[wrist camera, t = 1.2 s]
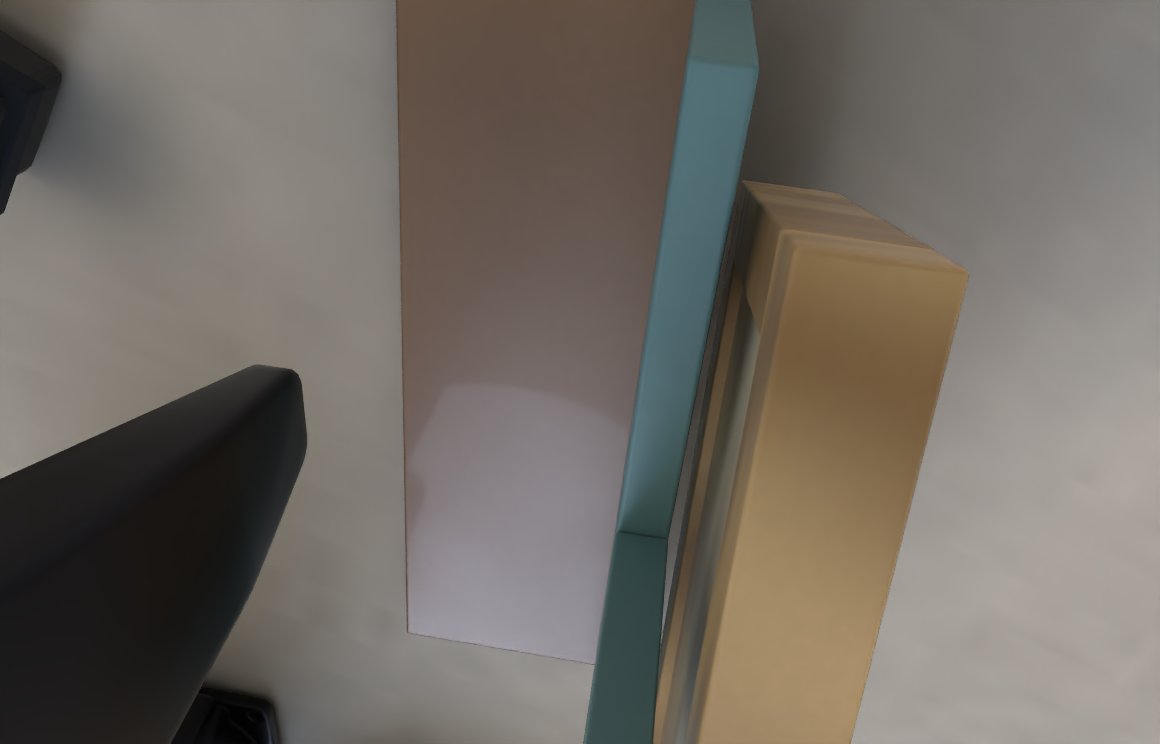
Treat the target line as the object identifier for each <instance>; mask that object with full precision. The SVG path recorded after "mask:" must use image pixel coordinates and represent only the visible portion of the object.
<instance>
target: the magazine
mask: <svg viewBox="0 0 1160 744" xmlns="http://www.w3.org/2000/svg"><path fill="white" fill-rule="evenodd" d="M60 83H61V73H60V72H59V71H58V70H57V69H56V67H55V66H53V65H52V64H50V63H49V62H47V61H46V60H44V59H43V58H41V57H40V56H38V55H37V54H35V53H33V52H32V51H30V50H29V49H27V48H26V47H24V46H23V45H21V44H20V43H18V42H17V41H15V40H13V39H12V38H10V37H9V36H7V35H6V34H4V33H3V32H1V31H0V215H1V214H2V213H4V211H5V208H6V205H7V202H8V199H9V196H10V193H11V190H12V187H13V184H14V181H15V178H16V176H17V175H18V174H20V173H22V172H24V171H25V170H27V169H28V168H29V167H30V166H32V163H33V161H34V158H35V155H36V152H37V149H38V146H39V143H40V140H41V138H42V135H43V132H44V129H45V126H46V123H47V120H48V117H49V114H50V112H51V109H52V106H53V103H54V100H55V97H56V94H57V91H58V89H59V86H60Z"/></svg>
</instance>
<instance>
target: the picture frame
mask: <svg viewBox="0 0 1160 744" xmlns="http://www.w3.org/2000/svg"><path fill="white" fill-rule="evenodd" d="M968 278H969V275H968V270H966V269H964V268H963V267H961V266H959V265H958V264H956V263H954V262H953V261H951V260H949V259H947V258H946V257H944V256H942V255H941V254H939V253H937V252H935V251H934V249H932V248H930V247H929V246H927V245H925V244H924V243H922V242H920V241H918V240H917V239H915V238H913V237H911V236H910V235H908V234H906V233H905V232H903V231H901V230H899V229H898V228H896V227H894V226H893V225H891V224H889V223H887V222H886V221H884V220H882V219H880V218H879V217H877V216H875V215H874V214H872V213H870V212H868V211H867V210H865V209H863V208H861V207H860V206H858V205H856V204H855V203H853V202H851V201H850V200H848V199H846V198H845V197H843V196H841V195H839V194H838V193H834V192H827V191H819V190H812V189H805V188H797V187H790V186H782V185H775V184H768V183H760V182H753V181H745V180H744V181H742V182H741V188H740V193H739V199H738V205H737V211H736V216H735V222H734V228H733V234H732V239H731V245H730V251H729V257H728V262H727V268H726V274H725V280H724V285H723V291H722V297H721V303H720V308H719V314H718V320H717V326H716V332H715V337H714V343H713V349H712V355H711V360H710V366H709V372H708V378H707V383H706V389H705V395H704V401H703V406H702V412H701V418H700V424H699V429H698V435H697V441H696V447H695V452H694V458H693V464H692V470H691V475H690V481H689V487H688V493H687V498H686V504H685V510H684V516H683V521H682V527H681V533H680V539H679V544H678V550H677V556H676V562H675V567H674V573H673V579H672V585H671V590H670V596H669V602H668V608H667V613H666V619H665V625H664V631H663V636H662V642H661V648H660V657H659V670H658V684H657V697H656V711H655V724H654V738H653V744H850V743H851V739H852V735H853V731H854V727H855V723H856V720H857V716H858V712H859V708H860V704H861V700H862V696H863V692H864V688H865V684H866V680H867V676H868V672H869V668H870V664H871V660H872V656H873V653H874V649H875V645H876V641H877V637H878V633H879V629H880V625H881V621H882V617H883V613H884V609H885V605H886V601H887V597H888V593H889V589H890V585H891V582H892V578H893V574H894V570H895V566H896V562H897V558H898V554H899V550H900V546H901V542H902V538H903V534H904V530H905V526H906V522H907V518H908V514H909V511H910V507H911V503H912V499H913V495H914V491H915V487H916V483H917V479H918V475H919V471H920V467H921V463H922V459H923V455H924V451H925V447H926V443H927V440H928V436H929V432H930V428H931V424H932V420H933V416H934V412H935V408H936V404H937V400H938V396H939V392H940V388H941V384H942V380H943V376H944V372H945V369H946V365H947V361H948V357H949V353H950V349H951V345H952V341H953V337H954V333H955V329H956V325H957V321H958V317H959V313H960V309H961V305H962V302H963V298H964V294H965V290H966V286H967V282H968Z"/></svg>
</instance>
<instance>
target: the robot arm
mask: <svg viewBox="0 0 1160 744" xmlns="http://www.w3.org/2000/svg"><path fill="white" fill-rule="evenodd" d="M306 449H307V431H306V421H305V412H304V402H303V393H302V384H301V380H300V378H299V375H298V374H297V373H296V372H295V371H294V370H292V369H286V368H280V367H273V366H266V365H253V366H250V367H248V368H246V369H243V370H241V371H239V372H237V373H234V374H232V375H230V376H228V377H226V378H223V379H221V380H219V381H217V382H215V383H212V384H210V385H208V386H206V387H203V388H201V389H199V390H197V391H195V392H192V393H190V394H188V395H186V396H183V397H181V398H179V399H177V400H175V401H172V402H170V403H168V404H166V405H164V406H161V407H159V408H157V409H155V410H152V411H150V412H148V413H146V414H144V415H141V416H139V417H137V418H135V419H132V420H130V421H128V422H126V423H124V424H121V425H119V426H117V427H115V428H112V429H110V430H108V431H106V432H104V433H101V434H99V435H97V436H95V437H92V438H90V439H88V440H86V441H84V442H81V443H79V444H77V445H75V446H72V447H70V448H68V449H66V450H64V451H61V452H59V453H57V454H55V455H52V456H50V457H48V458H46V459H44V460H41V461H39V462H37V463H35V464H32V465H30V466H28V467H26V468H24V469H21V470H19V471H17V472H15V473H12V474H10V475H8V476H6V477H4V478H1V479H0V744H278V737H277V730H276V723H275V716H274V709H273V707H272V706H271V705H270V704H269V703H268V702H266V701H265V700H262V699H258V698H252V697H247V696H241V695H235V694H229V693H224V692H218V691H212V690H207V689H201V686H202V684H203V682H204V680H205V679H206V677H207V675H208V673H209V671H210V669H211V667H212V666H213V664H214V662H215V660H216V658H217V656H218V654H219V653H220V651H221V649H222V647H223V645H224V643H225V641H226V640H227V638H228V636H229V634H230V632H231V630H232V628H233V627H234V625H235V623H236V621H237V619H238V617H239V615H240V614H241V612H242V610H243V608H244V606H245V604H246V602H247V600H248V598H249V596H250V594H251V592H252V590H253V587H254V585H255V583H256V580H257V578H258V576H259V573H260V571H261V569H262V566H263V563H264V561H265V558H266V556H267V553H268V551H269V548H270V546H271V543H272V541H273V538H274V536H275V533H276V530H277V528H278V525H279V523H280V520H281V518H282V515H283V513H284V510H285V508H286V505H287V503H288V500H289V497H290V495H291V492H292V490H293V487H294V485H295V482H296V480H297V477H298V475H299V472H300V470H301V467H302V464H303V462H304V458H305V454H306Z"/></svg>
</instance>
